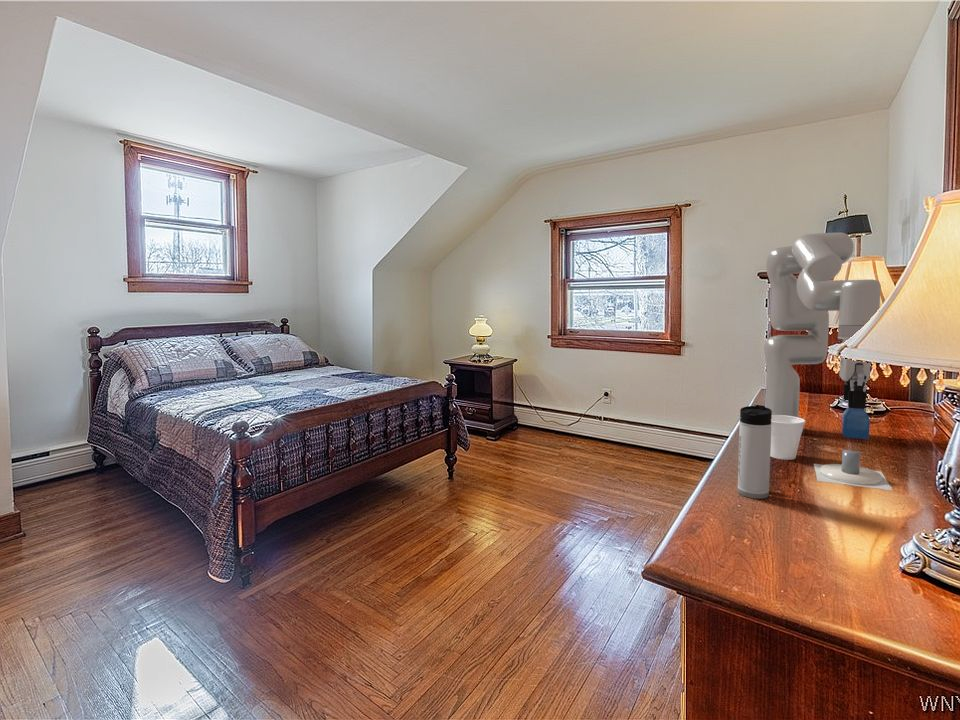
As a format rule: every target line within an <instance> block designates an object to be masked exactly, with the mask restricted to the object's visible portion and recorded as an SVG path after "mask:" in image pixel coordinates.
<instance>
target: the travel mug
mask: <svg viewBox="0 0 960 720" xmlns="http://www.w3.org/2000/svg"><path fill="white" fill-rule="evenodd" d="M739 413H740V415H739V417H740V418H739V430H738V431H739V436H738V464H737V466H738V467H737V493H738V494H740V495H741V496H743V497H746V498H750V499H756V500H757V499H758V500H759V499H766V498H768V497H769V495H770V474H771V473H770V471H771V456H770V452H771V425H772V423H771V418H772V410H771V409H769V408H766V407H765V405H763V404H761V405H760V404H755V405H748V406H743V407H741V408H740V412H739Z"/></svg>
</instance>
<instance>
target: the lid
mask: <svg viewBox="0 0 960 720" xmlns="http://www.w3.org/2000/svg"><path fill="white" fill-rule="evenodd" d="M861 455H862V454H861V452H860V451H858V450H852V449H843V450H842V455H841V456H842V457H841V463H827V464H822V465H823V466H821V467H820V473H821V474H822V475H823V476H825V477H827V478H830V479H833V480H836V481H840V482H845V483H850V484H859V485H874V484H879V483H881V482H882V476H881V475H880V474H879V473H877V472H875V471H876V470H874V471H873V469H869V468H867V467H863V466H861Z"/></svg>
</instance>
